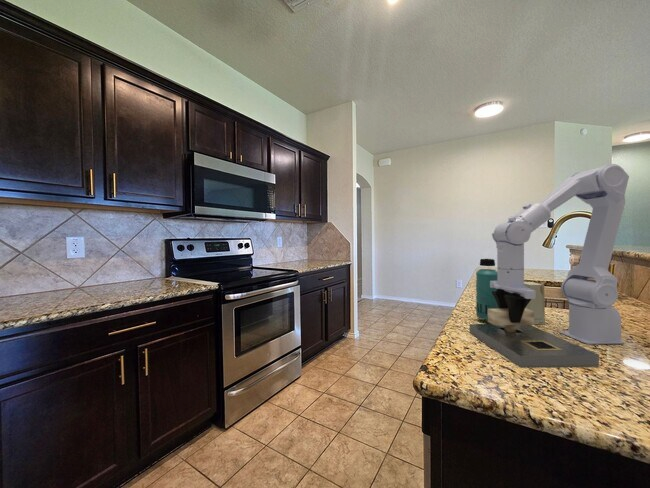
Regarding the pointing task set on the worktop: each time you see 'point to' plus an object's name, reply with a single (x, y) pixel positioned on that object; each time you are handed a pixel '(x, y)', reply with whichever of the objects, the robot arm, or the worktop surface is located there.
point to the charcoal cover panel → (534, 347)
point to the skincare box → (537, 302)
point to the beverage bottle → (485, 289)
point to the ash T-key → (503, 318)
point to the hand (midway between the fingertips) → (510, 320)
